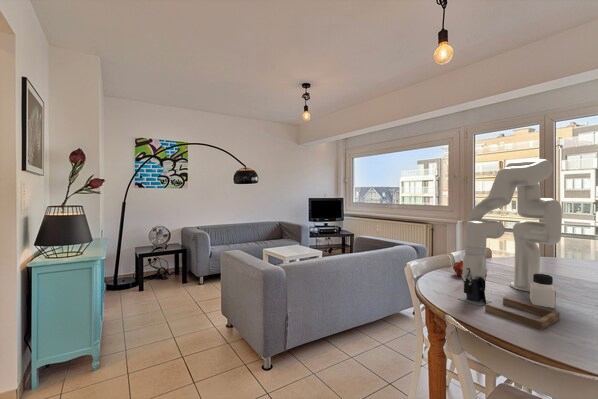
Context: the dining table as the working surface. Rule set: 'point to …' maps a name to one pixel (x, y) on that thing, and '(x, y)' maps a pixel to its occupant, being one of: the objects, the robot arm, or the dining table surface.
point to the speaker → (477, 291)
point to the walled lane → (537, 323)
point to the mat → (474, 301)
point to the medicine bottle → (542, 291)
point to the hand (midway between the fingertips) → (474, 291)
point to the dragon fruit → (458, 268)
